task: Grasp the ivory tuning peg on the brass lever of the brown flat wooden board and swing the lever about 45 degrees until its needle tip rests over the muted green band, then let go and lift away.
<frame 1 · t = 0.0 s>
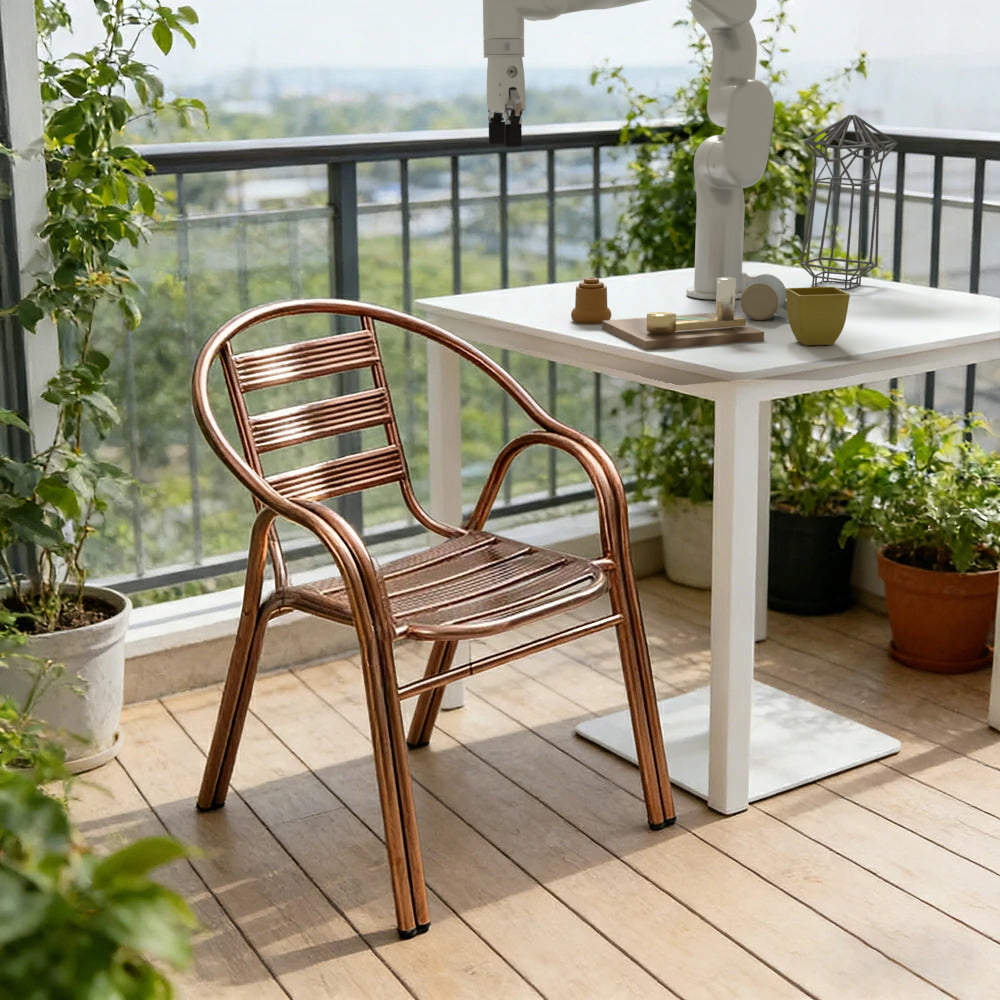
hand: (505, 144, 266), 31 cm above the table, tool pointing down, fingers open, 9 cm apart
brown flat wooden board: (680, 334, 250), on the table
ornamental finial: (591, 322, 263), on the table
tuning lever: (696, 304, 243), point 6 cm above the table, hinge at 0.0°
geometric lantern: (841, 287, 297), on the table
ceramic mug: (769, 319, 264), on the table
flower pot: (814, 344, 241), on the table
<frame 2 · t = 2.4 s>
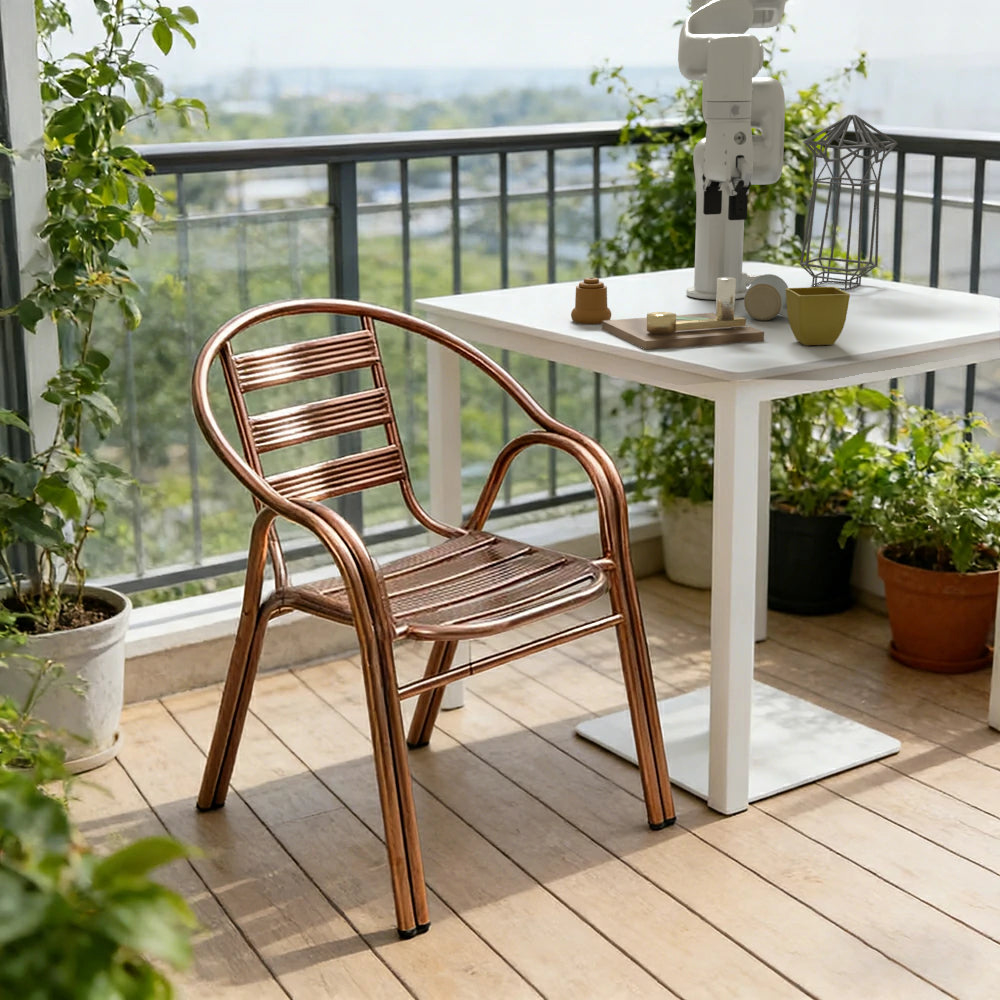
hand: (724, 216, 241), 21 cm above the table, tool pointing down, fingers open, 9 cm apart
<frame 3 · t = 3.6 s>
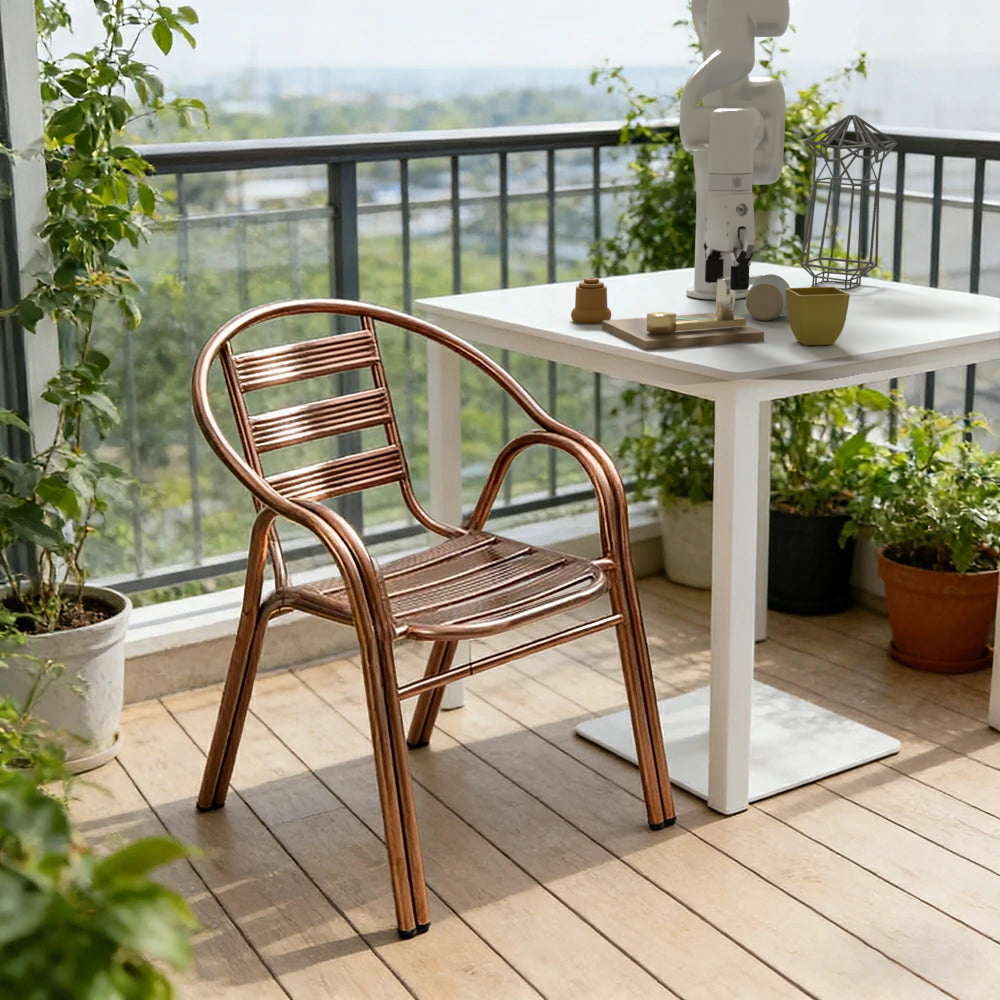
hand: (726, 285, 243), 9 cm above the table, tool pointing down, fingers open, 9 cm apart
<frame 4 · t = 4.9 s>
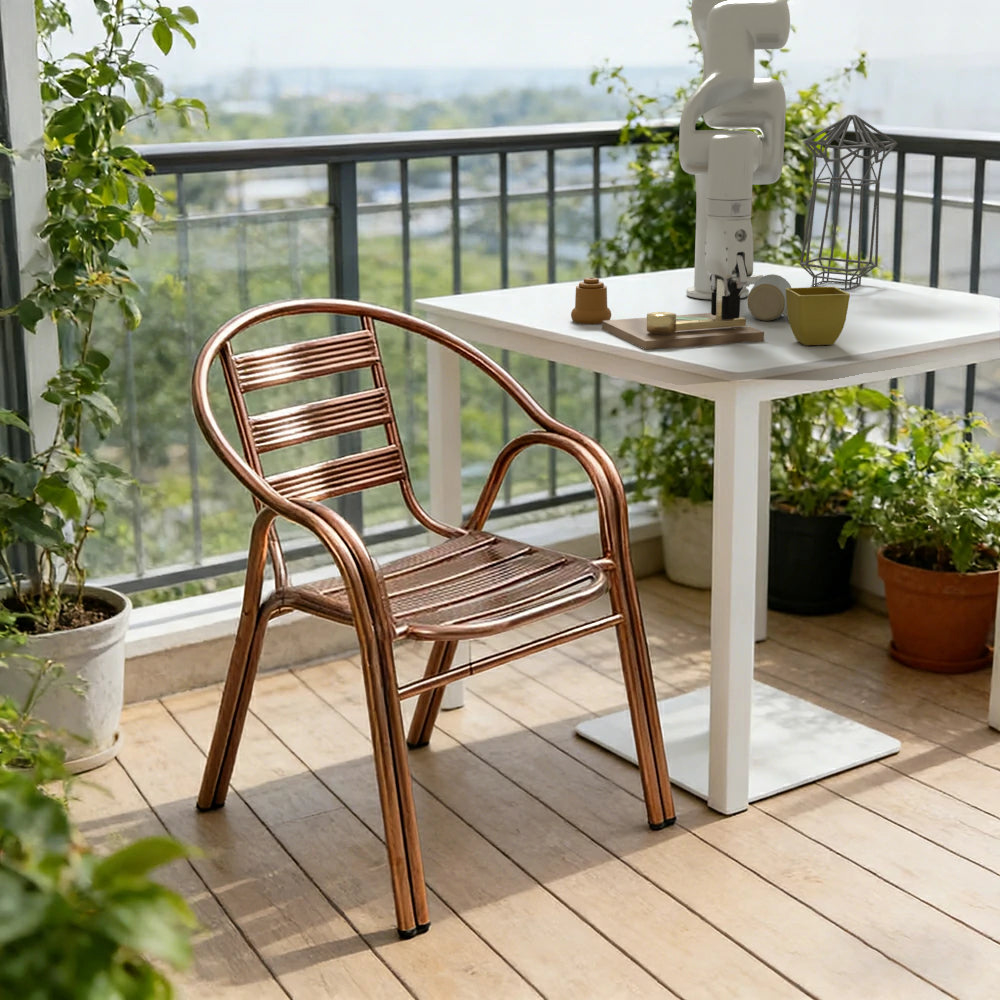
hand: (725, 315, 246), 4 cm above the table, tool pointing down, fingers closed on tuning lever, 3 cm apart
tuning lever: (696, 304, 243), point 6 cm above the table, hinge at 0.0°, touching gripper
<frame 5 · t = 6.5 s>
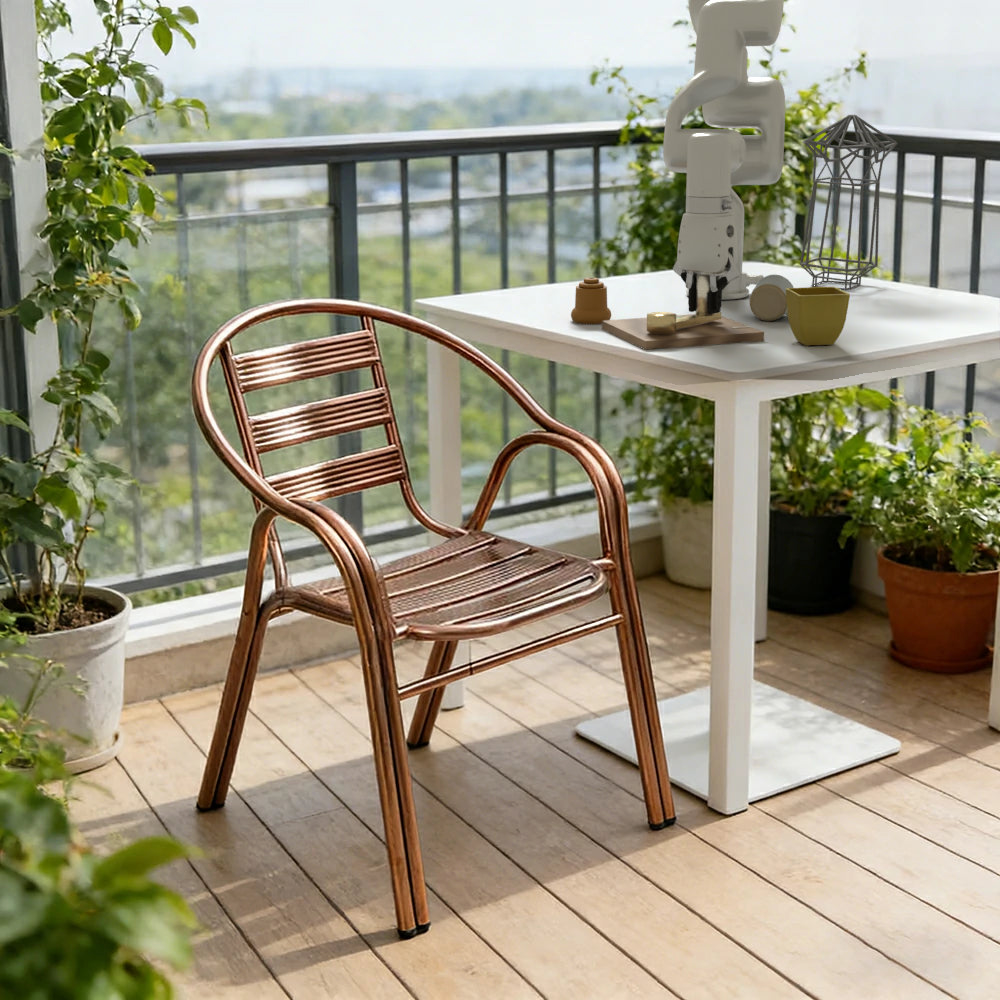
hand: (704, 311, 250), 4 cm above the table, tool pointing down, fingers closed on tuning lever, 3 cm apart
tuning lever: (685, 302, 246), point 6 cm above the table, hinge at 26.9°, touching gripper
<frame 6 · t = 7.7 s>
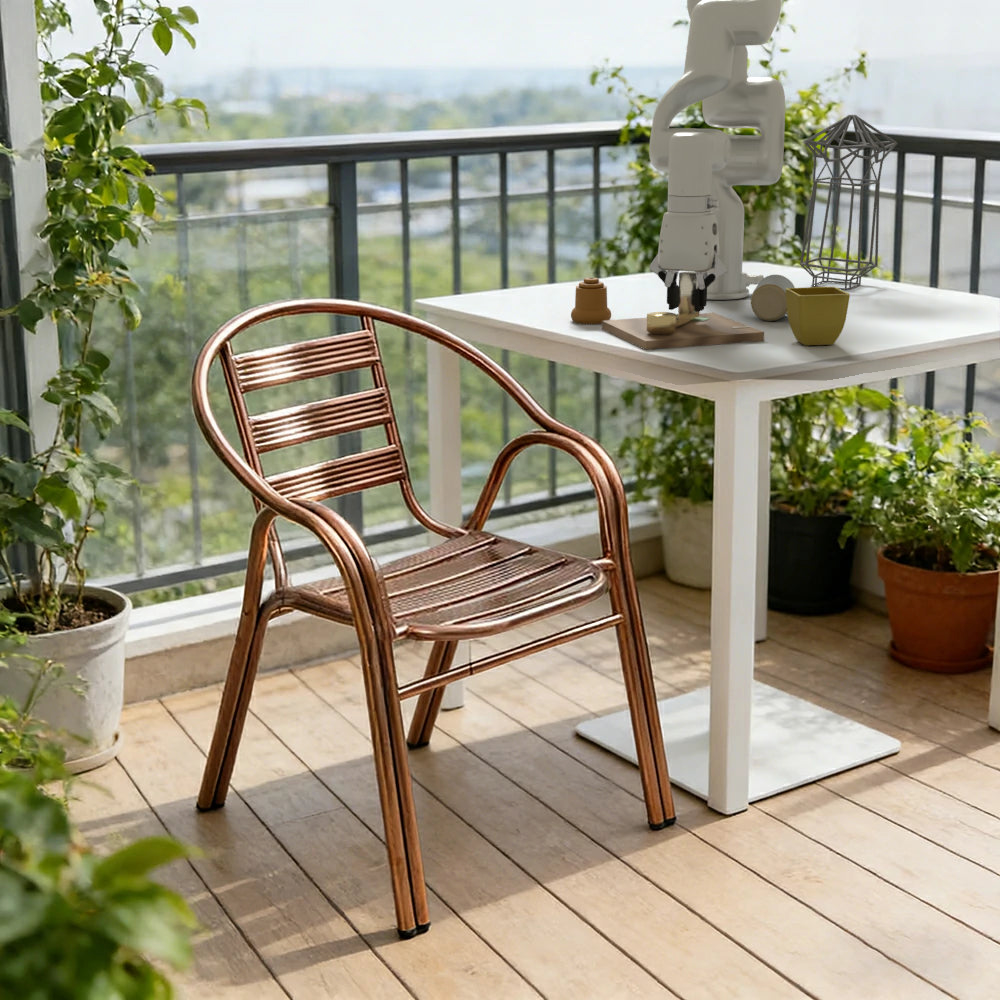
hand: (686, 308, 252), 4 cm above the table, tool pointing down, fingers open, 4 cm apart
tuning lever: (676, 301, 247), point 6 cm above the table, hinge at 43.9°
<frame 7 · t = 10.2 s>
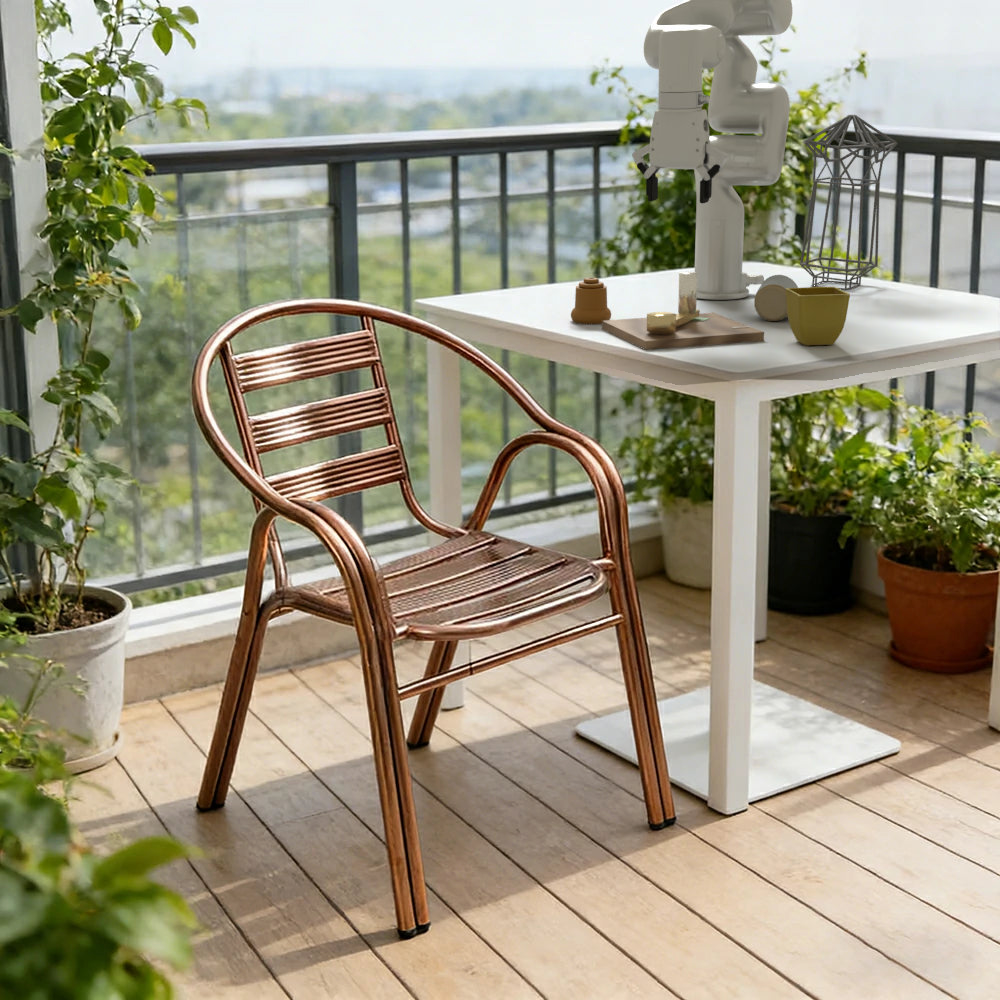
hand: (678, 201, 253), 22 cm above the table, tool pointing down, fingers open, 9 cm apart
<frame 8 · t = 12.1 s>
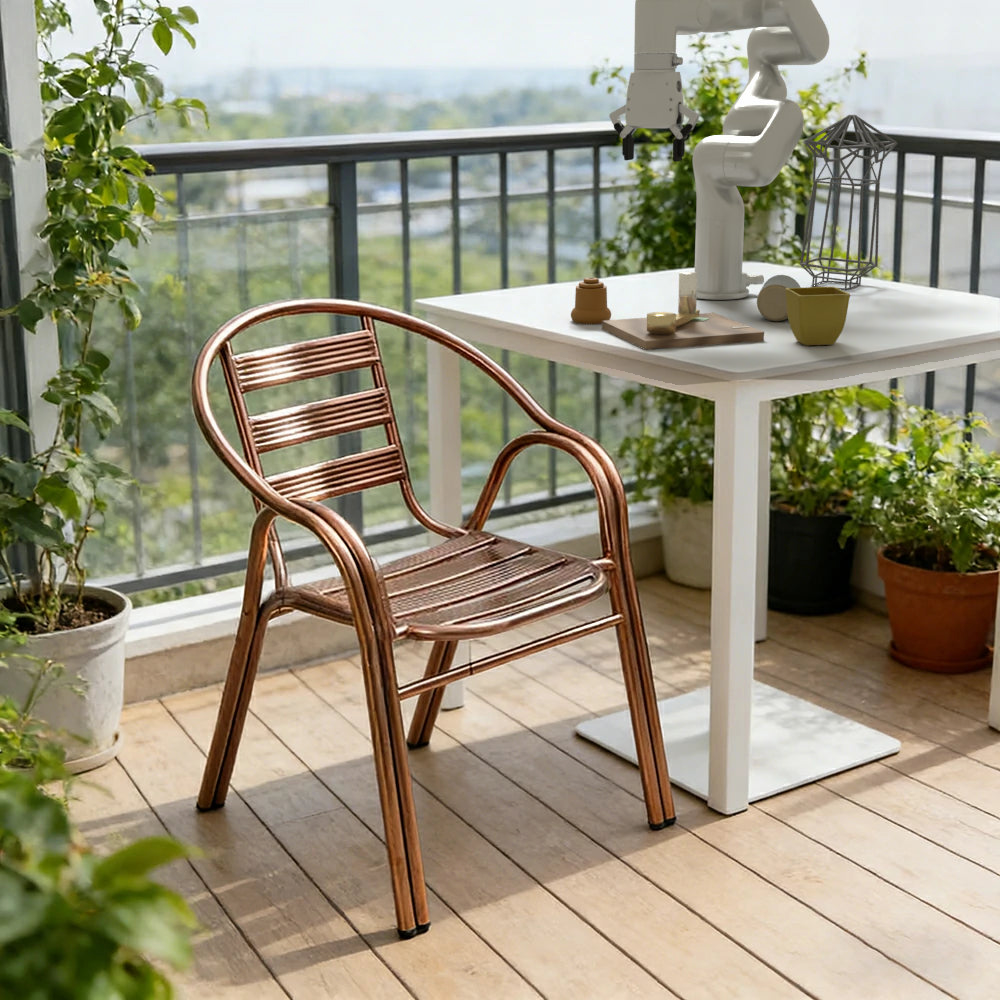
hand: (653, 160, 263), 28 cm above the table, tool pointing down, fingers open, 9 cm apart
at the end: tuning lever at +44° (first picture: +0°); the gripper is holding nothing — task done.
